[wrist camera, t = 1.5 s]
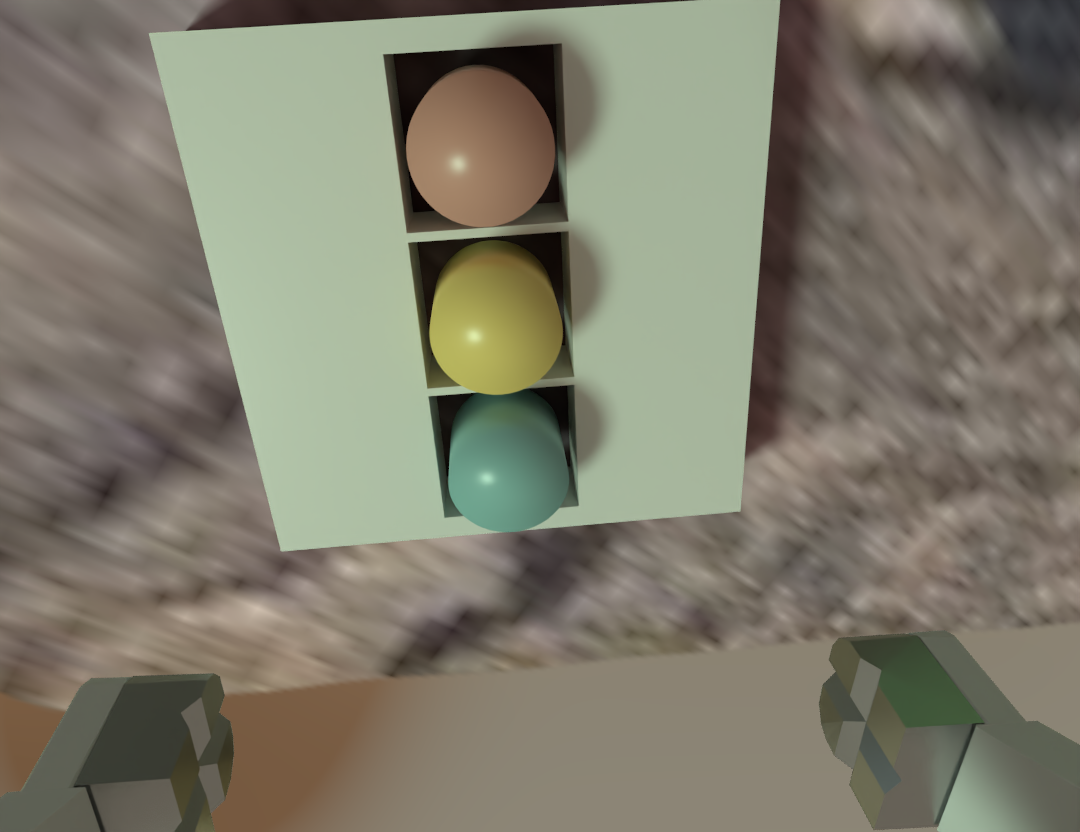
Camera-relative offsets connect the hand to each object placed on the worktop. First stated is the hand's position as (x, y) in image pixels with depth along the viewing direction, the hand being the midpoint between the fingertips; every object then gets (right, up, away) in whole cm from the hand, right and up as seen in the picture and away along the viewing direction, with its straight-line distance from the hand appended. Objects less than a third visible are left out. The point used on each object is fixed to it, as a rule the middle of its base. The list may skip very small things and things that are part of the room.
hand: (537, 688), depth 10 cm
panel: (-2, +9, +19) cm, 21 cm away
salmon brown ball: (-2, +13, +15) cm, 20 cm away
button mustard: (-2, +8, +17) cm, 19 cm away
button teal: (-1, +3, +20) cm, 20 cm away
